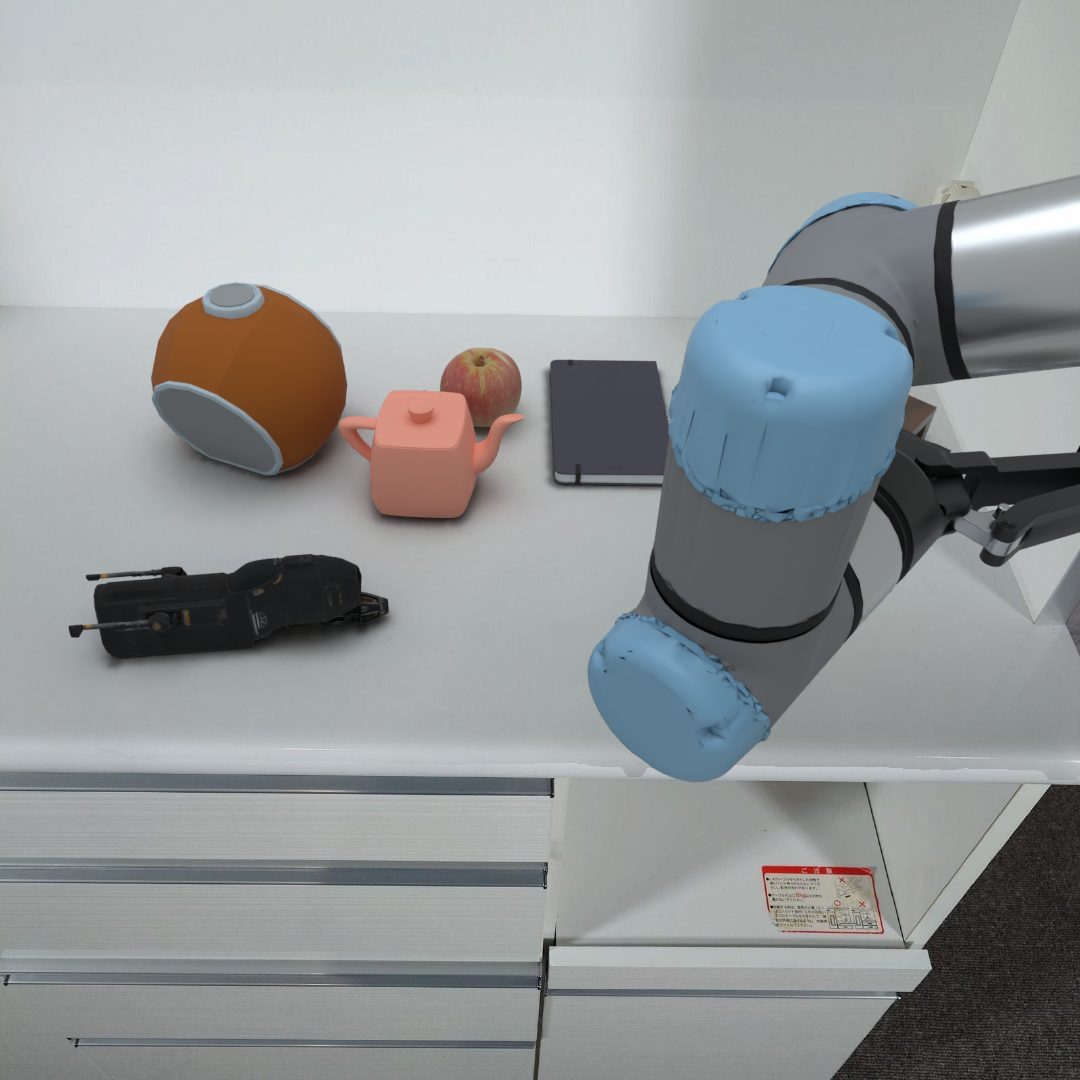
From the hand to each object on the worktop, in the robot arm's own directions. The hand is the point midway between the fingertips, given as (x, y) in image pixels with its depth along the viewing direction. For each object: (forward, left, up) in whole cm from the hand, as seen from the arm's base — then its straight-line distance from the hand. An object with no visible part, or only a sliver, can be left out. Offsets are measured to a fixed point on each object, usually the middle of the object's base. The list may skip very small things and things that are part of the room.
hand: (1005, 366), depth 57 cm
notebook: (+38, -12, -31) cm, 51 cm away
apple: (+49, -3, -31) cm, 58 cm away
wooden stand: (+18, -27, -31) cm, 45 cm away
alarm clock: (+63, +16, -31) cm, 72 cm away
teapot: (+44, +9, -31) cm, 55 cm away
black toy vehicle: (+43, +33, -31) cm, 62 cm away
